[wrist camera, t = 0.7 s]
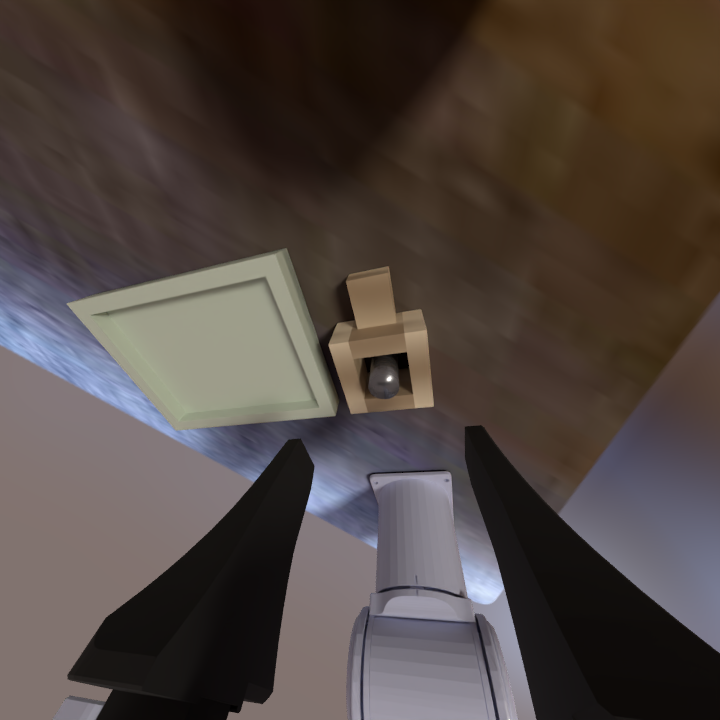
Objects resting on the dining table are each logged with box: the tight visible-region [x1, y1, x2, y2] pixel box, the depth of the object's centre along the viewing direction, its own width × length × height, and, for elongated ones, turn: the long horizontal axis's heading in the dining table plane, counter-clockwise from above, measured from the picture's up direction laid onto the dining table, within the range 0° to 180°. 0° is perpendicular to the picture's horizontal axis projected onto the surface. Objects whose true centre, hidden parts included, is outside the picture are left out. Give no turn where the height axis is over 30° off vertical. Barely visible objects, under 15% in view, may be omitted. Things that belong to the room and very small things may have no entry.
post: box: [368, 353, 399, 399], centre depth 16 cm, size 2×2×4 cm
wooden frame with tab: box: [329, 266, 434, 414], centre depth 16 cm, size 9×6×3 cm, turn 13°
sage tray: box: [67, 248, 339, 430], centre depth 19 cm, size 12×15×2 cm
